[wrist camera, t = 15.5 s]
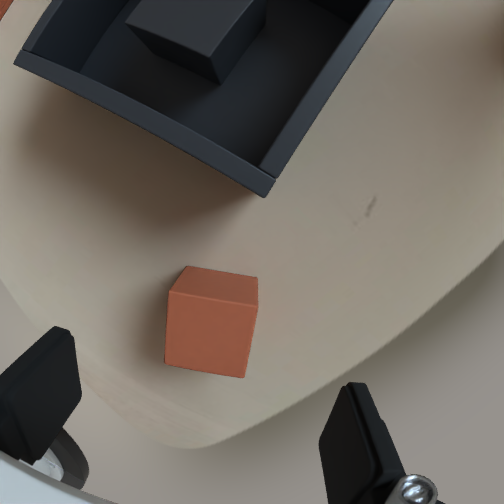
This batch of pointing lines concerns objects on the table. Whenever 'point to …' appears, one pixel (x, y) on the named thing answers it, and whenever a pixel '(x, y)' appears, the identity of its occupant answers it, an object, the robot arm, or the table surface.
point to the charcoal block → (199, 32)
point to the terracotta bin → (4, 6)
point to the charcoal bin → (201, 89)
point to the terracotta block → (211, 321)
